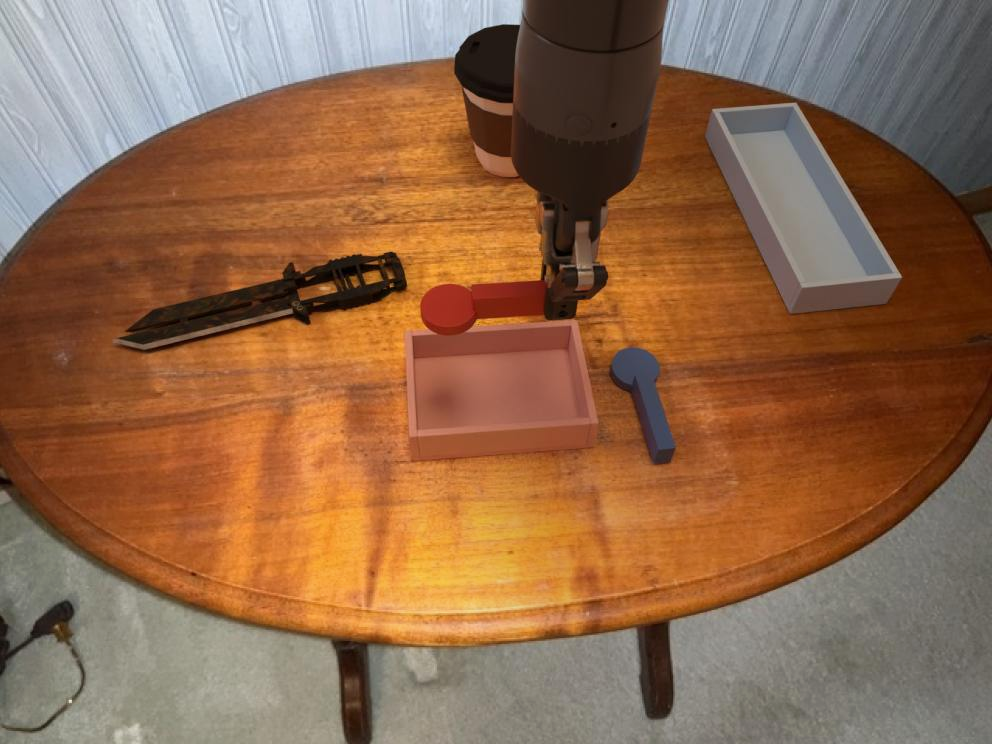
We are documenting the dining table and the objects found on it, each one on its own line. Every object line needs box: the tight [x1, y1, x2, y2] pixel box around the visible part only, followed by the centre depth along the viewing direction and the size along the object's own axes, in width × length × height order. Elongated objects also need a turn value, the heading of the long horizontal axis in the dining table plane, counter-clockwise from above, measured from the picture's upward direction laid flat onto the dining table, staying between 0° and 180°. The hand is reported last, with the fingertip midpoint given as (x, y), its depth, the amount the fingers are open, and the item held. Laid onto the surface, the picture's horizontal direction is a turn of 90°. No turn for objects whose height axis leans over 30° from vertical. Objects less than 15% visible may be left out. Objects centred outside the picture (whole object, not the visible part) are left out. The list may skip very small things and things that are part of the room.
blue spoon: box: [609, 346, 677, 465], centre depth 66 cm, size 11×4×2 cm, turn 9°
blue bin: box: [704, 102, 903, 315], centre depth 79 cm, size 25×9×4 cm, turn 9°
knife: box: [110, 251, 408, 351], centre depth 72 cm, size 25×6×1 cm, turn 105°
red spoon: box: [419, 280, 546, 336], centre depth 57 cm, size 11×4×2 cm, turn 96°
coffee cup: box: [453, 23, 520, 178], centre depth 80 cm, size 11×11×12 cm
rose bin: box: [404, 319, 600, 462], centre depth 65 cm, size 14×10×4 cm
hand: (556, 304), depth 58 cm, fingers closed on red spoon, 1 cm apart
